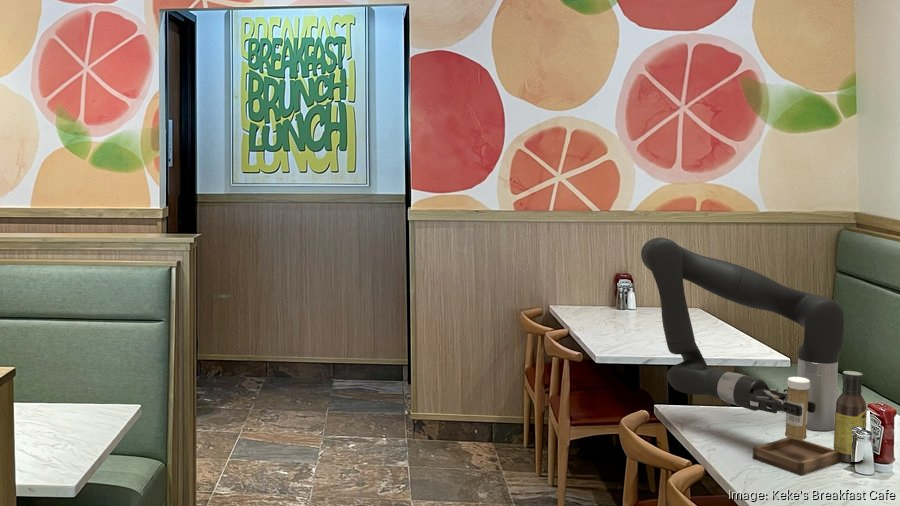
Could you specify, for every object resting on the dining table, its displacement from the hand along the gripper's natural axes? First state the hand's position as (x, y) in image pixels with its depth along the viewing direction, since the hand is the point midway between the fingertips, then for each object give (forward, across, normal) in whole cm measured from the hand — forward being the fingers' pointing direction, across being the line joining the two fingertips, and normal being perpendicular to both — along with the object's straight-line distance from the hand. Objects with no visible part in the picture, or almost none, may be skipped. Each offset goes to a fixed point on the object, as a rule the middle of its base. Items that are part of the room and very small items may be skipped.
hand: (807, 409), depth 170 cm
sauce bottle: (+4, +11, +12) cm, 17 cm away
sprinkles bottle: (-3, 0, +7) cm, 8 cm away
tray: (-2, 0, +12) cm, 13 cm away
